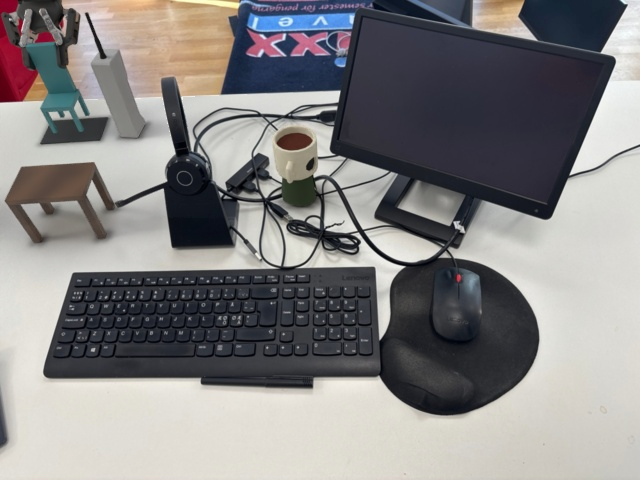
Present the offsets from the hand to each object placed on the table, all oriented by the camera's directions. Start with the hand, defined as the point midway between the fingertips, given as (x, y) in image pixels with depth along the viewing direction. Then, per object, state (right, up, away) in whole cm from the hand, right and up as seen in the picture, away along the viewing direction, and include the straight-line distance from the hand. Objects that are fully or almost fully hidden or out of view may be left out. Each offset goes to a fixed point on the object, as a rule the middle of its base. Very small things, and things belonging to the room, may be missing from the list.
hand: (46, 68), depth 97 cm
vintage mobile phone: (+13, -10, +10) cm, 19 cm away
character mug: (+48, -25, -5) cm, 54 cm away
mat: (+1, -10, +10) cm, 14 cm away
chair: (+1, -8, +9) cm, 12 cm away
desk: (+9, -29, -7) cm, 32 cm away
